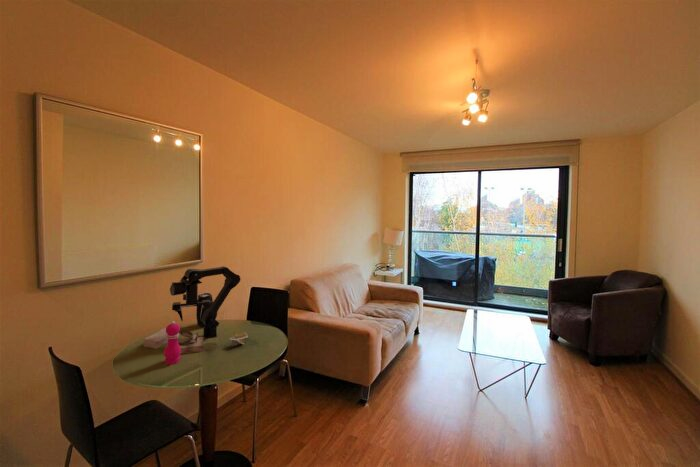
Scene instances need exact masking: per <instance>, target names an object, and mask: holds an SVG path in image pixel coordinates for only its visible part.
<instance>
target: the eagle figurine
mask: <svg viewBox="0 0 700 467" xmlns="http://www.w3.org/2000/svg"><path fill="white" fill-rule="evenodd" d="M199 332H200V331H199V330H198V331H197V332H196V333H195V334H193V332H192V331H188V330H187V329H182V330H181V331H179V335H180V336H183V337H185V338H187V339H185V340H183V341H181V342H179V343H178V344H179V345H182V344H184V343H187V342H190V341H191V340H195V341H196V342H197V338H198V337H199ZM195 338H196V339H195Z"/></svg>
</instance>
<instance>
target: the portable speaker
mask: <svg viewBox="0 0 700 467" xmlns="http://www.w3.org/2000/svg"><path fill="white" fill-rule="evenodd" d="M203 300H210V302H211V305H212V303H213V302H214V300H213V295H212V294H211V293H210V292H204V293H201V294H198V302H202V301H203ZM208 308H209V307H208ZM201 309H202V306H196V321H197V322H196V323H197V326H198V327H199V328H204V327H205V324H203V322H202V321H201V320H200V316H201V315H200V314H201Z"/></svg>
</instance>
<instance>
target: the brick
mask: <svg viewBox="0 0 700 467" xmlns="http://www.w3.org/2000/svg"><path fill="white" fill-rule="evenodd" d="M167 343H168V338H167V333H166V327H164V328H162V329H160V330H158V331H157V332H155V333H153V334H150V335H149V336H147V337H145V338H144V339H143V347H144V348H150V349H159V348H160V347H162V346H163V345H165V344H167Z"/></svg>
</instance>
